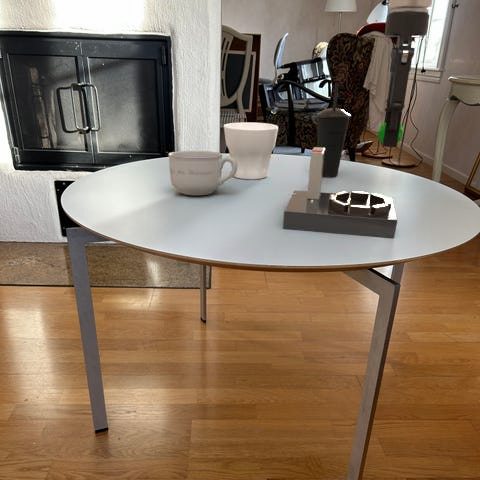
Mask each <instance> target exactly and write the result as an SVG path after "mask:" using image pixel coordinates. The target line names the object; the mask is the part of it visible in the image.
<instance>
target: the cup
mask: <svg viewBox="0 0 480 480" xmlns="http://www.w3.org/2000/svg"><path fill="white" fill-rule="evenodd" d="M223 131H224V138H225V139H224V140H225V145H226V147H227V150H228V153H229V156H230V157H232V158H234V159H235V160H236V162H237V171H236V173H235V175H234V176H233V177H232V178H236V179H240V180H262V179H265V178H267V177H268V172H269V166H270V161H271V157H272V153H273V151H274V149H275V147H276V141H277V137H278V132H279V126H278V125H276V124H273V123H266V122H247V121H244V122H242V121H241V122H229V123H226V124H224V125H223ZM230 165H231V167H232V164H231V163H230Z"/></svg>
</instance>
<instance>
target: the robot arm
mask: <svg viewBox="0 0 480 480" xmlns="http://www.w3.org/2000/svg"><path fill="white" fill-rule="evenodd" d="M432 4H433V0H389V2H388V10H389V11H390V12H389V13H388V15H386V20H385V21H386V22H385V29H384V35H385V36H386V37H389V38H390V37H391V38H394V37H395V38H397V39H396V45H395V47H392V48H391V53H390V58H391V61H390V68H389V72H390V76H389V84H388V92H387V99H386V100H385V102H386V107H385V108H384V112H385V114H384V122H383V124H384V123H386V126H385V133H384V140H383V144H382V147H385V148H386V147H387V148H397V147H398V143H399V142H398V135H399V129H400V124H401V123H402V122H401V121H402V116H403V110H404V109H405V106H406V104H405V103H406V102H405V101H406V94H407V88H408V82H409V75H410V72H411V69H412V61H413V58H414V56H415V50H416V47H412V44H413V37H414V38H415V37H416V38H417V37H425V36H426V35H427V32H428V27H429V21H430V14H429V12H428V10H430V9H431V8H432V6H433V5H432ZM397 142H398V143H397Z"/></svg>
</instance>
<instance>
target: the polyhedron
mask: <svg viewBox="0 0 480 480" xmlns="http://www.w3.org/2000/svg"><path fill="white" fill-rule="evenodd" d="M385 126H386V123H384V122H383V124H381V125H380V127H379V130H378V133H377V137H378V141H379V142H380V144H381V145H383V140H384V133H385ZM403 134H404V129H403V126H402V124H401V123H400V129H399V135H398V142H397V144H399V143H400V142H401V140H402V137H403Z"/></svg>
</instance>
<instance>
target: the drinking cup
mask: <svg viewBox="0 0 480 480" xmlns="http://www.w3.org/2000/svg"><path fill="white" fill-rule="evenodd" d="M338 92H339V82H335V84H334V94H333V104H332V107H330V108H326V109H323V110H321V111H319V112H317V113H316V117H317V147H320V148H325V153H324V163H323V173H322V178H336V177H338V174H339V169H340V165H341V160H342V154H343V150H344V144H345V140H346V136H347V130H348V125H349V121H350V118H351V117H352V115H351V114H350V113H348V111H347V112H346V111H345V110H344V109H341V108H338V107H337V100H338Z"/></svg>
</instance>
